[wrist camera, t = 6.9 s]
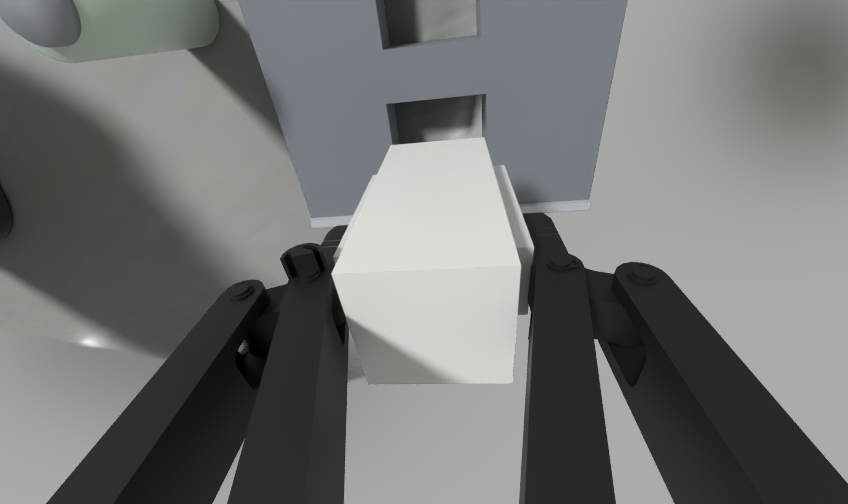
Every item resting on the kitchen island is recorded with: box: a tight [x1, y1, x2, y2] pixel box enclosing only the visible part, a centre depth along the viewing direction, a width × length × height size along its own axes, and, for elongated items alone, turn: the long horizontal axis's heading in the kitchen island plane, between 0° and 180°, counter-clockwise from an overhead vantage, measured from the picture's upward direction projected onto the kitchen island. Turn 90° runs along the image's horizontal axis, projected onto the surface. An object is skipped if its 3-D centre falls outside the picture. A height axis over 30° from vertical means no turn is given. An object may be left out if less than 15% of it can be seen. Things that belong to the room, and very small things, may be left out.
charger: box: [331, 137, 521, 384], centre depth 13 cm, size 5×4×10 cm
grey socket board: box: [238, 0, 627, 228], centre depth 20 cm, size 20×18×3 cm
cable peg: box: [0, 0, 219, 63], centre depth 17 cm, size 4×4×10 cm
